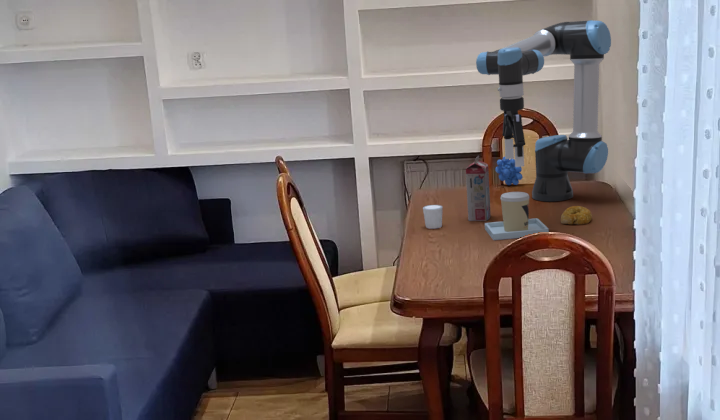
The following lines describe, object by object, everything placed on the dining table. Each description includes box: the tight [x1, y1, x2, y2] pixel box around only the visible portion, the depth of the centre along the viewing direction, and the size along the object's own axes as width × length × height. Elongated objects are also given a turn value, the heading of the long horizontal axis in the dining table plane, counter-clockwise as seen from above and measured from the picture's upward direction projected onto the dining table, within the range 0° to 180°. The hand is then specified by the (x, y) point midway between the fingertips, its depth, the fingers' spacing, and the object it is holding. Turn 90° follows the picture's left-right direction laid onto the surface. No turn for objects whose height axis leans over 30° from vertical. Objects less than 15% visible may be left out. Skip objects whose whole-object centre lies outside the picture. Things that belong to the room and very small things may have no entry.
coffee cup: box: [500, 191, 530, 232], centre depth 277 cm, size 9×9×12 cm
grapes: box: [494, 156, 524, 186], centre depth 344 cm, size 12×7×12 cm, turn 57°
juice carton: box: [465, 155, 491, 222], centre depth 297 cm, size 7×7×22 cm
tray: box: [484, 218, 550, 241], centre depth 279 cm, size 18×14×2 cm
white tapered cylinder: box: [422, 204, 443, 230], centre depth 293 cm, size 7×7×7 cm
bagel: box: [560, 205, 593, 226], centre depth 285 cm, size 10×11×5 cm
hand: (514, 162), depth 275 cm, fingers open, 13 cm apart
